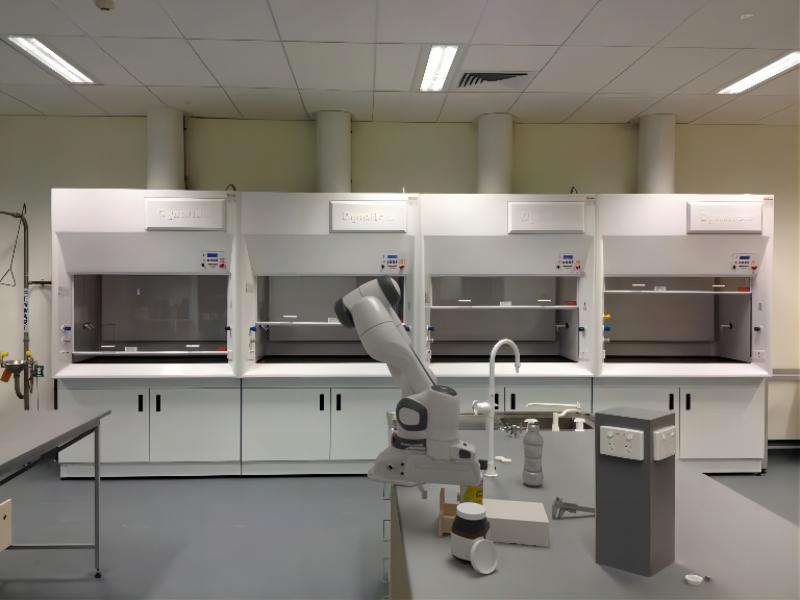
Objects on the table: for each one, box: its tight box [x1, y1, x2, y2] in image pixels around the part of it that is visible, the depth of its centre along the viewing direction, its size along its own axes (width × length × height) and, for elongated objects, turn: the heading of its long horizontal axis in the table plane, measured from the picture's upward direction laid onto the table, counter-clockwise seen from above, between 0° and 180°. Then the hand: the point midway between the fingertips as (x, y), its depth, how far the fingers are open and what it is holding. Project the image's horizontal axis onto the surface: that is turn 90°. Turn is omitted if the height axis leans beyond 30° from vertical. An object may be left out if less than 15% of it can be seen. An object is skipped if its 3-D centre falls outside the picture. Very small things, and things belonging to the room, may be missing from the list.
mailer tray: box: [438, 487, 483, 538], centre depth 131 cm, size 16×12×9 cm
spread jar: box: [450, 502, 499, 575], centre depth 114 cm, size 12×11×12 cm
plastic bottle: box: [522, 422, 544, 487], centre depth 163 cm, size 6×7×20 cm
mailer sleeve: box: [482, 498, 550, 548], centre depth 129 cm, size 16×12×6 cm
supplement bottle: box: [459, 462, 484, 505], centre depth 144 cm, size 7×7×13 cm
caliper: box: [551, 496, 596, 520], centre depth 140 cm, size 20×1×6 cm, turn 100°
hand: (442, 499), depth 132 cm, fingers open, 8 cm apart
